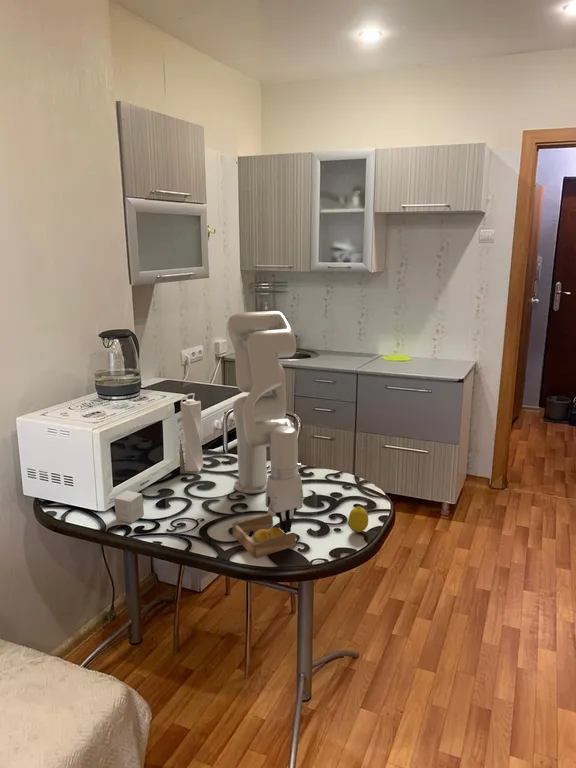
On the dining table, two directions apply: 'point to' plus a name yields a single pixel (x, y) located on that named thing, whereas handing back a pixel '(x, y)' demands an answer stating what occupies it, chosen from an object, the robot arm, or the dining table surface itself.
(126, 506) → the product box
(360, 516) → the lemon
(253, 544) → the bay
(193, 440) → the skyscraper
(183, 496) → the dining table surface
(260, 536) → the bread roll
